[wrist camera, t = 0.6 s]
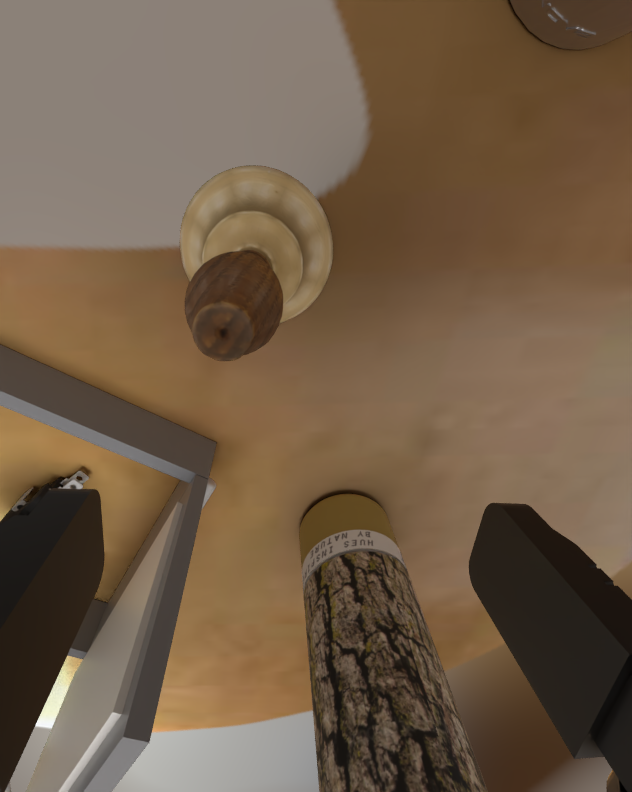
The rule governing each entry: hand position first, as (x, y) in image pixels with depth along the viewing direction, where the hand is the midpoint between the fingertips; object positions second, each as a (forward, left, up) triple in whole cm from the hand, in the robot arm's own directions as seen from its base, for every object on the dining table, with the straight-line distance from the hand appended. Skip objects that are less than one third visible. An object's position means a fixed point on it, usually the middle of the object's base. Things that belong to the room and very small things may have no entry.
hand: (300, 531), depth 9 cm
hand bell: (-2, -3, -18) cm, 18 cm away
